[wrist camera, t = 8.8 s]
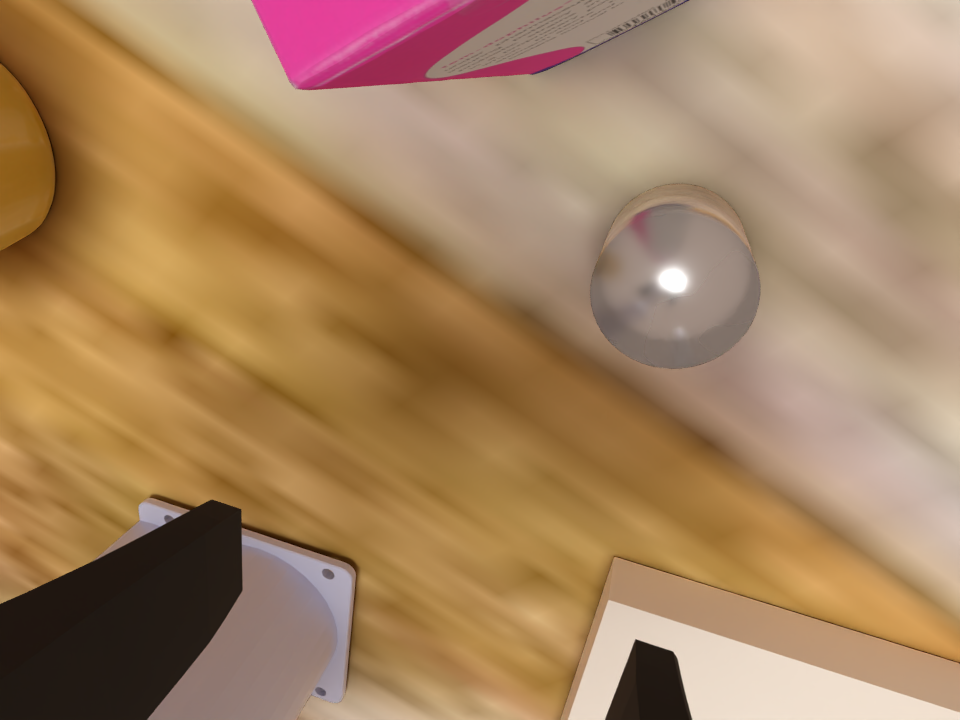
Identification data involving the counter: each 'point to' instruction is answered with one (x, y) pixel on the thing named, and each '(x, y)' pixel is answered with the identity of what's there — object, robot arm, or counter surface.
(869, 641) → the hole board
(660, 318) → the short steel pin
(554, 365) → the counter surface
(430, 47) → the supplement box
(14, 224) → the plant pot
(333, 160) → the counter surface
